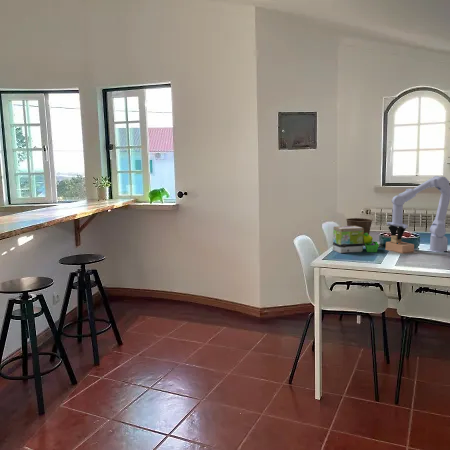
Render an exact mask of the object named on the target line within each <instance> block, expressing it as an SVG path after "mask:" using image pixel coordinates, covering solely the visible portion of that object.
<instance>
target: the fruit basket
mask: <svg viewBox="0 0 450 450" xmlns="http://www.w3.org/2000/svg"><path fill="white" fill-rule="evenodd" d="M373 238H374V237H373V236H371V235H370V233H369V234H368V233H364V235H363V241H364V243H365V245H364V248H365V250H366V252H367V253H377V252H378V249H379V247H380V244H379V243H378V242H377V241H373Z"/></svg>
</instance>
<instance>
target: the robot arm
mask: <svg viewBox="0 0 450 450" xmlns="http://www.w3.org/2000/svg"><path fill="white" fill-rule="evenodd" d="M428 188H436V189H437V190H438V191H439V192H440V197H439V201H438V206H437V209H436V214H435V217H434V220H433V221H432V223H431V225H430V227H429V232H430V233H431V234H430V238H429V239H430V240H429V242H430V243H429V249H427V251H429V252H435V253H440V252H441V253H445V252H444V251H447V250H448V244H449V243H448V241H449V240H448V237H447V236H445V235H446V233H447V230H446V216H447V212H448V208H449V203H450V181H449V179H448V178H447V177H445V176H439V175H435V176H433V177H431V178H429V179H427V180H425V181H423V182H422V183H421V184H418V185H417V186H416V187H414V188H406V189H405V191H403V192H401V193H398V195H395V196H393V197H392V199H391V203H392V213H391V214H392V215H391V216H392V217H391V220H392V221H387V222H386V226H387V227H388V229H389V232H390V234H391V236H392V235H397V237H398V240H399V239H401V240H402V238H403V234H404V232H405V231H406V229H408V228H409V225H408V224H405V223H403V219H404V217H403V215H404V205H405V203H407V202H408V201H410V200H412V199H413V198H415V197H416V196H417V194H418V193H420V192H422V191H424V190H426V189H428ZM447 252H448V251H447Z"/></svg>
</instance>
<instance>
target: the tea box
mask: <svg viewBox="0 0 450 450" xmlns="http://www.w3.org/2000/svg"><path fill="white" fill-rule="evenodd" d="M363 234H364V228H362V227H358V226H347V225H344V226H343V225H341V226H333V233H332V251H334V252H337V253H339V254H344V253H361V252H362V253H363V251H364V250H363V249H364V248H363V247H364V246H363Z"/></svg>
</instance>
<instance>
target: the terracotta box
mask: <svg viewBox="0 0 450 450" xmlns="http://www.w3.org/2000/svg"><path fill="white" fill-rule="evenodd" d="M401 243H404V244H408V245H399V244H401ZM401 243H398V244H397V243H393V242H391V241H385V249H386V250H385V251H388V250H389V252H392V251H394V252H393V253H396V252H398V253H397V254H401V253H402V255H404V254H403V253H410V252H414V251H415V244H414V243H409V242H404V241H401Z"/></svg>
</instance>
